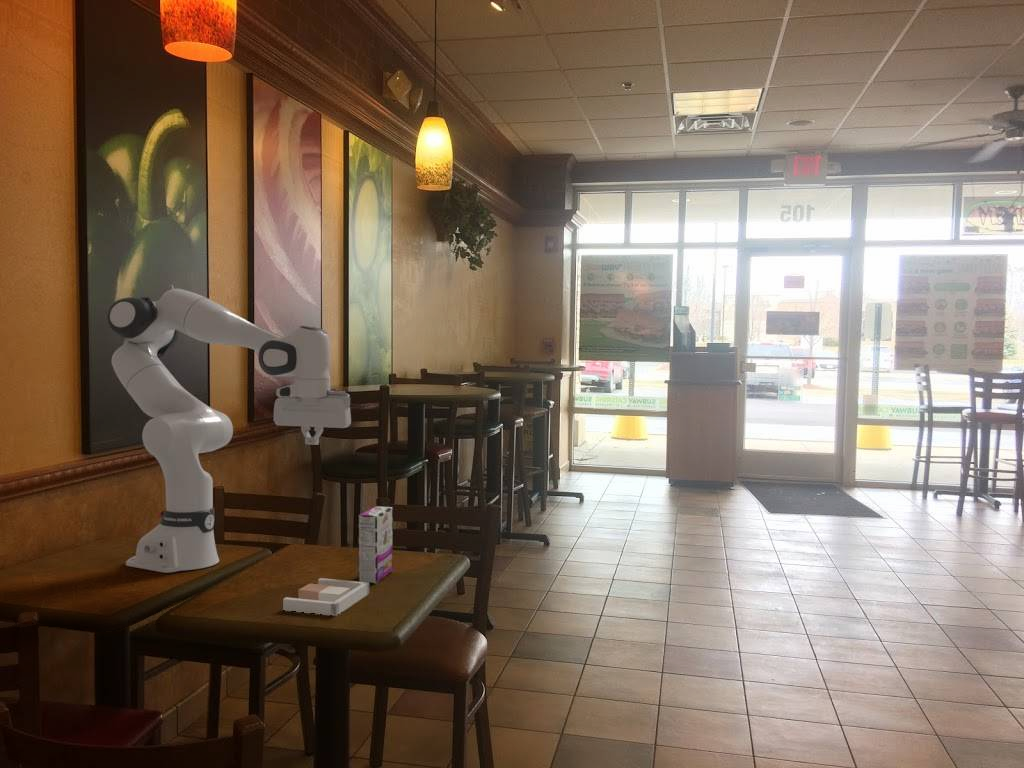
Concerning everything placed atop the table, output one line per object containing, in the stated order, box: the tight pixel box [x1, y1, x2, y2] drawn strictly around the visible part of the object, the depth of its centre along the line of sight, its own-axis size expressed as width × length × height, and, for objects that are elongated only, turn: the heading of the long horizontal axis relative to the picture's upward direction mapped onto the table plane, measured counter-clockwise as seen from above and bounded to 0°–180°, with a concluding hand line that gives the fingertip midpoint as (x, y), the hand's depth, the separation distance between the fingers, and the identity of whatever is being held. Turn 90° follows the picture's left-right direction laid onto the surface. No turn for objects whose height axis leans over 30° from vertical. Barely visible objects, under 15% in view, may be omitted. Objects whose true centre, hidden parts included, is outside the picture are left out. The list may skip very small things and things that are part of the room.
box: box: [282, 577, 370, 617], centre depth 174 cm, size 12×16×2 cm
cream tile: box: [318, 586, 350, 602], centre depth 174 cm, size 5×5×3 cm
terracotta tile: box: [297, 583, 330, 600], centre depth 176 cm, size 5×5×3 cm
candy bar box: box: [358, 505, 394, 584], centre depth 194 cm, size 11×5×16 cm, turn 168°
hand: (312, 444), depth 203 cm, fingers closed
